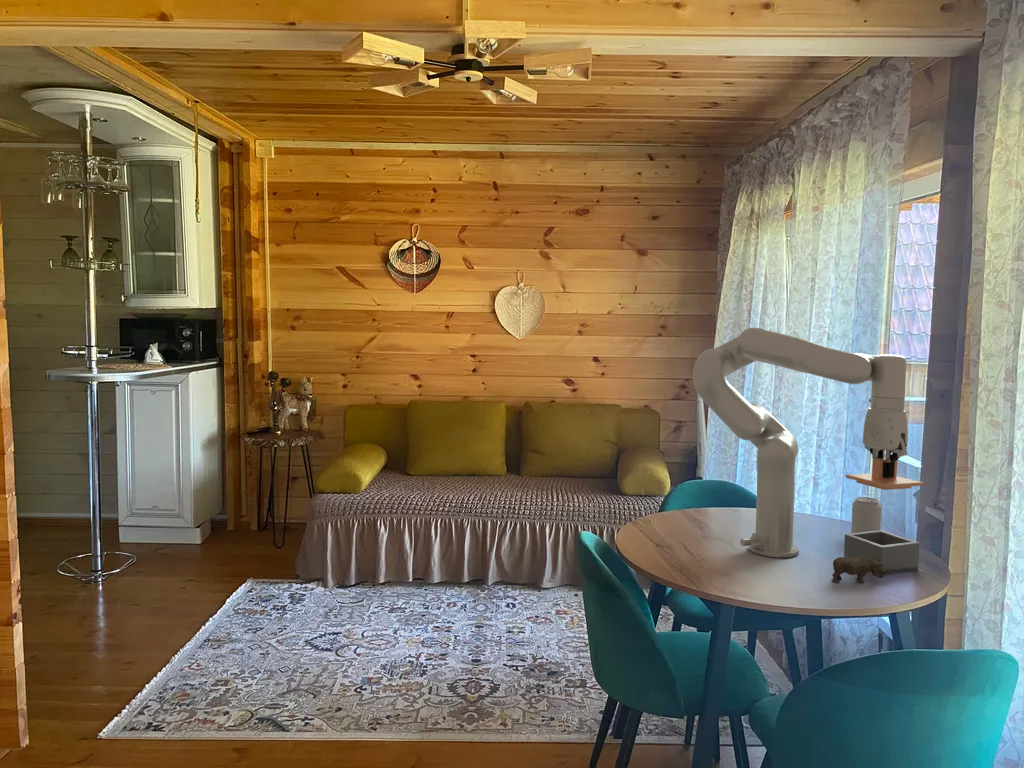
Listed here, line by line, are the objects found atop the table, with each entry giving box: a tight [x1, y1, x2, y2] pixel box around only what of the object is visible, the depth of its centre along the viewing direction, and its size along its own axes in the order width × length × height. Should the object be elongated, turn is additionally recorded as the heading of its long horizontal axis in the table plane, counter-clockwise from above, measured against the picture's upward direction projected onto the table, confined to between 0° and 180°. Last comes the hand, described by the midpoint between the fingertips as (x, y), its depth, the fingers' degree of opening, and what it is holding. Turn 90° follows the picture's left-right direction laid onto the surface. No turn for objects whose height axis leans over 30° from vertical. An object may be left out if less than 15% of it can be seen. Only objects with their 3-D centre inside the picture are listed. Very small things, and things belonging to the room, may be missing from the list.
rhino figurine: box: [831, 556, 889, 585], centre depth 174 cm, size 4×14×6 cm, turn 89°
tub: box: [843, 529, 920, 576], centre depth 185 cm, size 12×12×7 cm
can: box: [850, 496, 882, 534], centre depth 207 cm, size 8×8×12 cm
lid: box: [845, 457, 925, 491], centre depth 184 cm, size 12×12×7 cm
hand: (884, 476), depth 184 cm, fingers closed on lid
